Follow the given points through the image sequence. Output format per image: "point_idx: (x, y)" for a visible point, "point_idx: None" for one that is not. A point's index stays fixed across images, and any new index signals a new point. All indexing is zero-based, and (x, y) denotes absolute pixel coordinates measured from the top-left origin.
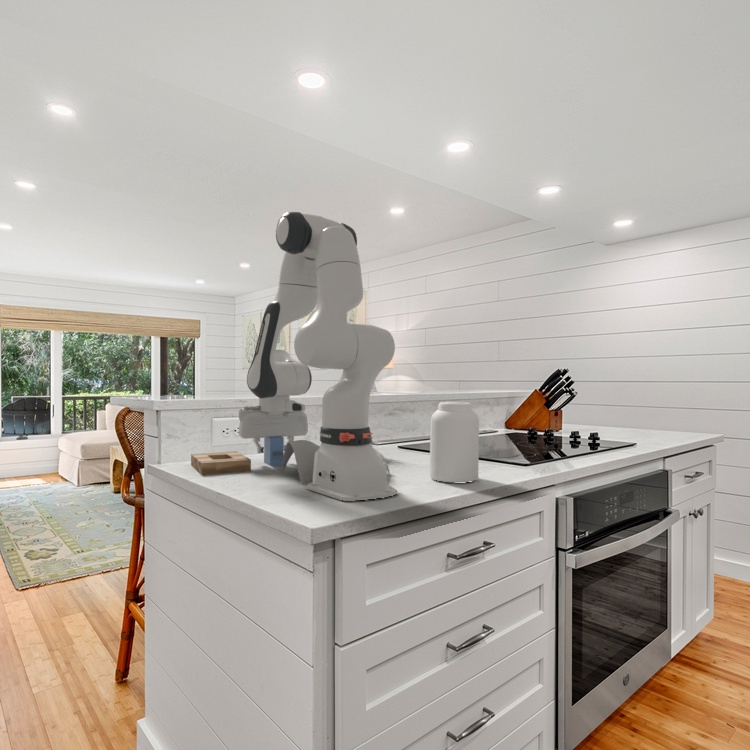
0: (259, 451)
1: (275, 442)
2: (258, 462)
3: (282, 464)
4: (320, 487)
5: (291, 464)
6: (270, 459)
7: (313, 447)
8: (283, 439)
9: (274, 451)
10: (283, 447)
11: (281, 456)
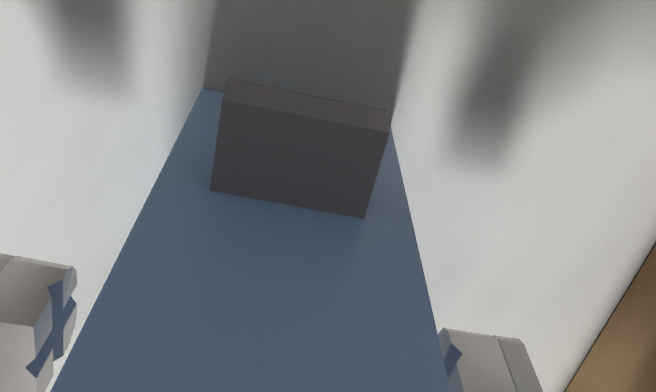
0: (519, 351)
1: (317, 337)
2: None
3: (215, 94)
4: None
5: (93, 30)
6: (394, 165)
7: None
8: (76, 355)
9: (336, 218)
10: (139, 222)
11: (212, 147)
